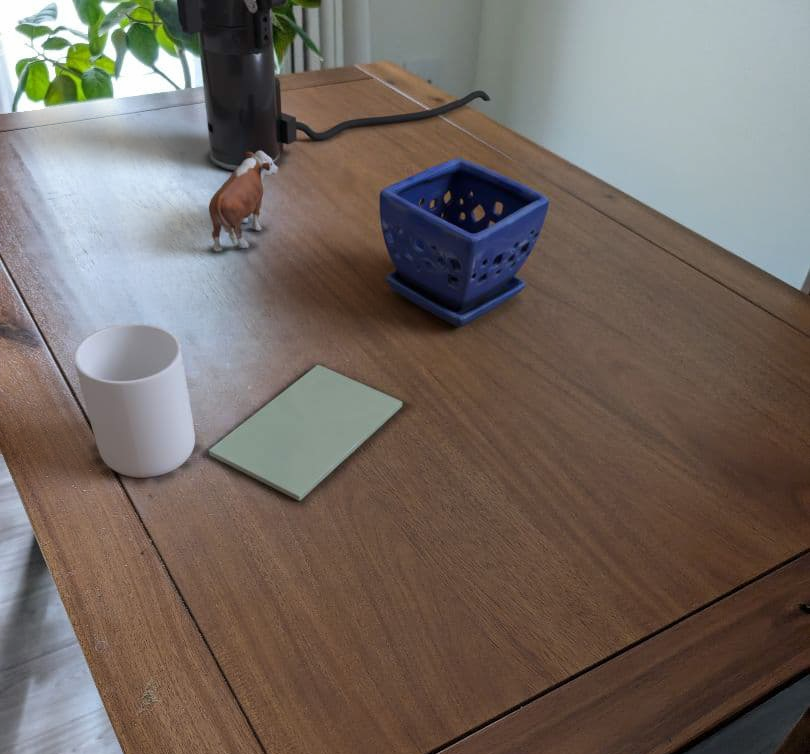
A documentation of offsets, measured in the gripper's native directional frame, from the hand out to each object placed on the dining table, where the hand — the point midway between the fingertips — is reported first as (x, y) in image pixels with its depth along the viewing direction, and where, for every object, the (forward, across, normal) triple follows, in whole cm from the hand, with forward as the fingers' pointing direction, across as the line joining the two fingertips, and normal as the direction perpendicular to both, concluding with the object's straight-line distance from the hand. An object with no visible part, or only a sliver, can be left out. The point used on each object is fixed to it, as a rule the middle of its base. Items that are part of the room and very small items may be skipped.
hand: (225, 42), depth 87 cm
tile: (+21, +28, -25) cm, 43 cm away
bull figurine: (+21, 0, +1) cm, 21 cm away
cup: (+21, +17, -33) cm, 43 cm away
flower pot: (+21, +28, +3) cm, 35 cm away
